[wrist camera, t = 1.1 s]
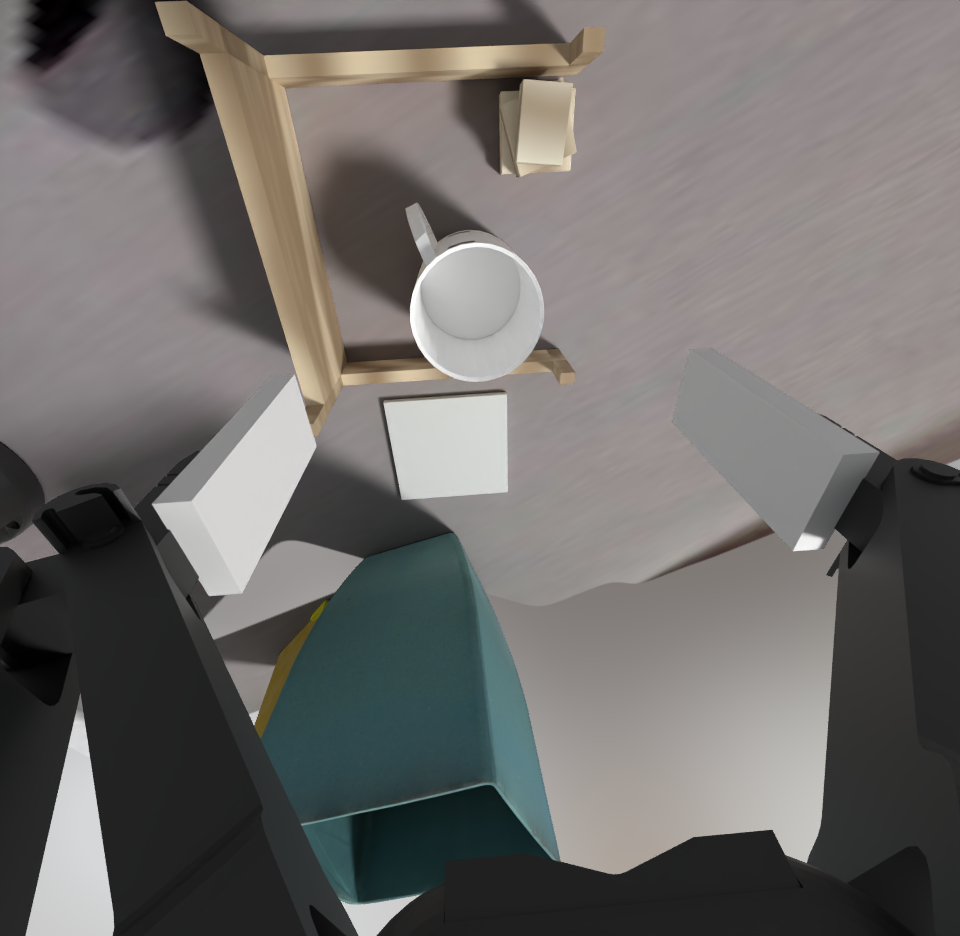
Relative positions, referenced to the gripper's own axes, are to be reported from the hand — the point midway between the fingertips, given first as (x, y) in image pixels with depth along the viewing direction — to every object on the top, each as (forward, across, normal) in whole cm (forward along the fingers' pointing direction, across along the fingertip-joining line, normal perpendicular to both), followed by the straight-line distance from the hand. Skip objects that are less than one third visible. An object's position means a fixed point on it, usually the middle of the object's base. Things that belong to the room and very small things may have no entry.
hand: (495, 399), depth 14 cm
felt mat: (+25, -3, -17) cm, 30 cm away
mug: (+25, 0, 0) cm, 25 cm away
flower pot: (+25, -8, -36) cm, 45 cm away
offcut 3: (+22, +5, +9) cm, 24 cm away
